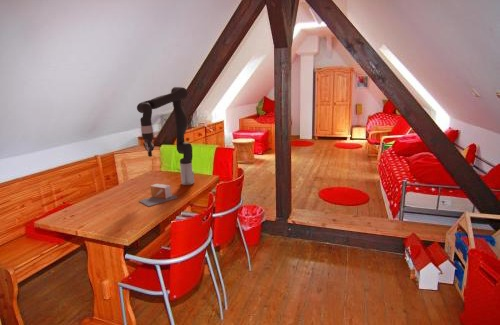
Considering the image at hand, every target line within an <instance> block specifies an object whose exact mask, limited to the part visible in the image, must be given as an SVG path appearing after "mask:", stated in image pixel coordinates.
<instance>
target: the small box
mask: <svg viewBox="0 0 500 325" xmlns="http://www.w3.org/2000/svg"><path fill="white" fill-rule="evenodd" d="M149 188H150V196H151V197H157V198H163V199H167V198H169V197H171V194H172V187H171V185H169V184H164V183H163V184H161V183H154V184H152V185H150V187H149Z"/></svg>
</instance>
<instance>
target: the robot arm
mask: <svg viewBox="0 0 500 325" xmlns="http://www.w3.org/2000/svg"><path fill="white" fill-rule="evenodd" d="M187 96H188V89H186V88H185V87H183V86H174V87H172V88H171V90H170V93H167V94H164V95H159V96H156V97H154V98H152V99H149V100H144V101H142V102H139V103H138V104H137V106H136V110H137V111H138V113H140V114H142V116H141V117H140V126H141V127H140V129H141V132H140V133H141V139H142V140H143V141H144V142H143V143H142V144H143V147H144V148H145V151H147V156H148V157H149V158H150V157H152V156H153V151H154V149H155V144H154V142H153V139H154V131H153V130H154V128H153V125H152V124H153V123H152V114H153V110H156V109H159V108H162V107H163V106H166V105H168V104H171V103H172V106H173V114H174V123H175V124H174V125H175V134H176V137H175V138H176V151H177V153H178V154H182V155H183V157H182V158H180V159H179V166H180V167H179V168H180V179H181V185H182V186H190V185H193V184H194V183H195V175H194V174H195V172H194V170H193V145H192V144H191V143H189V142H185V134H186V131H187V128H188V126H189V125H188V123H189V122H188V117H187V114H186V112H185V110H184V108H183V106H182V100H185V99H186V98H187Z"/></svg>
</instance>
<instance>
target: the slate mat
mask: <svg viewBox="0 0 500 325" xmlns="http://www.w3.org/2000/svg"><path fill="white" fill-rule="evenodd" d="M175 199H176V200H177V199H179V197H178V196H177V195H174V194H172V193H171V197H169V198H167V199H163V198H157V197H152V196H151V197H148V198H144V199H141V200H139V201H138V202H139V203H141V204H142V205H145V206H146V207H148V208H149V207H150V208H151V207H152V206H156V205H160V204H163V203H166V202H169V201H172V200H173V201H174V200H175Z"/></svg>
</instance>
